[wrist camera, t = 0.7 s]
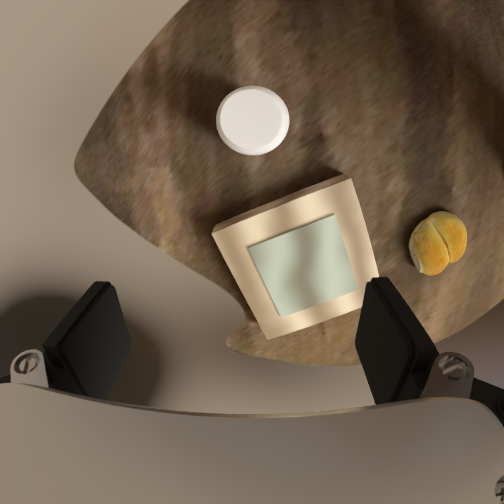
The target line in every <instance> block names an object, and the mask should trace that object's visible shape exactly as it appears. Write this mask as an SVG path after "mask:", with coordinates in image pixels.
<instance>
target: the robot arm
mask: <svg viewBox="0 0 504 504" xmlns="http://www.w3.org/2000/svg"><path fill="white" fill-rule="evenodd" d="M42 346H43V348H44V350H45V352H44V354H42V353H41V352H40V351H37V350H28V351H25V352H22V353H21V354H19V355H18V356H17V357H16V358H15V359H14V360H13V362H12V364H11V374H10V375H8V376H5V377H3V378H0V504H504V389H502V388H499V387H496V386H494V385H491V384H489V383H486V382H484V381H481V380H479V379H476V378H474V368H473V365H472V363H471V362H470V361H469V360H468V359H467V358H466V357H465V356H463V355H461V354H459V353H454V352H445V353H442V354H439V352H438V351H437V349H436V347H435V345H434V343H433V342H432V340H431V339H430V337H429V335H428V334H427V332H426V331H425V329H424V328H423V326H422V325H421V323H420V322H419V320H418V319H417V318H416V316H415V315H414V313H413V312H412V310H411V309H410V307H409V306H408V305H407V303H406V302H405V300H404V299H403V297H402V296H401V295H400V293H399V292H398V291H397V289H396V288H395V286H394V285H393V284H392V282H391V281H390V280H389V278H388V277H373V278H372V279H371V281H370V282H367V283H366V287H365V293H364V298H363V304H362V309H361V314H360V319H359V324H358V329H357V334H356V339H355V346H356V350H357V353H358V355H359V358H360V361H361V364H362V366H363V369H364V372H365V375H366V378H367V381H368V384H369V386H370V389H371V392H372V395H373V398H374V401H375V404H376V405H372V406H364V407H357V408H348V409H339V410H329V411H318V412H305V413H286V414H220V413H219V414H218V413H200V412H186V411H175V410H167V409H158V408H150V407H142V406H135V405H129V404H123V403H117V402H112V401H106V400H107V397H108V395H109V393H110V391H111V389H112V387H113V384H114V382H115V380H116V378H117V376H118V374H119V372H120V370H121V367H122V365H123V363H124V361H125V359H126V357H127V355H128V353H129V351H130V349H131V338H130V335H129V332H128V329H127V326H126V323H125V320H124V317H123V314H122V310H121V307H120V303H119V300H118V296H117V293H116V289H115V287H114V286H113V285H111V283H110V282H102V281H99V282H97V281H96V282H94V283H93V284H92V286H91V287H90V288H89V289H88V290H87V291H86V292H85V294H84V295H83V296H82V297H81V298H80V299H79V301H78V302H77V303H76V304H75V305H74V306H73V307H72V309H71V310H70V311H69V312H68V313H67V315H66V316H65V317H64V318H63V319H62V321H61V322H60V323H59V324H58V326H57V327H56V328H55V329H54V331H53V332H52V333H51V334H50V336H49V337H48V338H47V339H46V341H45V342H44V343H43V345H42Z"/></svg>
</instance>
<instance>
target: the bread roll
mask: <svg viewBox="0 0 504 504" xmlns="http://www.w3.org/2000/svg"><path fill="white" fill-rule="evenodd" d="M466 243H467V233H466V228H465V226H464V224H463V223H462V221H461V220H460V219H459V218H458V217H456V216H455V215H453V214H452V213H449V212H445V211H439V212H435V213H432V214H431V215H429V216H428V217H427V218H426V219H425V220H423V221H421V222H420V223H419V224H418V225H417V226H416V228H415V229H414V230H413V232H412V234H411V237H410V240H409V250H410V254H411V257H412V260H413V262H414V264H415V266H416V268H417V269H418V271H419V272H422V273H424V274H426V275H436V274H439V273H440V272H441V271H442V270H443V269H444V268H445V267H446V265H447V264H448V263H453V262H456V261H457V260H458V259H460V258H461V256H462V255H463V253H464V251H465V248H466Z"/></svg>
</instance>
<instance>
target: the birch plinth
mask: <svg viewBox="0 0 504 504" xmlns="http://www.w3.org/2000/svg"><path fill="white" fill-rule="evenodd" d="M212 236H213V238H214V240H215V242H216V244H217V245H218V247H219V249H220V251H221V253H222V255H223V257H224V259H225V261H226V263H227V265H228V267H229V269H230V271H231V272H232V274H233V276H234V278H235V280H236V282H237V284H238V286H239V288H240V290H241V291H242V293H243V295H244V297H245V299H246V301H247V303H248V305H249V306H250V308H251V310H252V312H253V314H254V316H255V318H256V319H257V321H258V323H259V325H260V327H261V329H262V331H263V332H264V334H265V336H266V338H267V340H269V339H272V338H275V337H278V336H282V335H285V334H288V333H291V332H294V331H297V330H300V329H303V328H306V327H309V326H311V325H314V324H317V323H320V322H323V321H326V320H328V319H331V318H334V317H337V316H339V315H342V314H345V313H347V312H350V311H353V310H355V309H358V308H360V307H362V304H363V298H364V293H365V287H366V283H367V282H370V281H371V279H372V278H373V277H379V275H378V270H377V266H376V262H375V258H374V254H373V250H372V247H371V243H370V239H369V235H368V232H367V228H366V225H365V221H364V218H363V214H362V211H361V208H360V205H359V201H358V198H357V195H356V192H355V189H354V186H353V183H352V180H351V178H350V177H348V176H347V175H345V174H341V175H339V176H336V177H333V178H331V179H328V180H325V181H323V182H320V183H318V184H315V185H312V186H310V187H307V188H305V189H302V190H300V191H297V192H294V193H292V194H289V195H287V196H284V197H282V198H279V199H277V200H274V201H272V202H269V203H267V204H264V205H262V206H259V207H257V208H255V209H252V210H250V211H247V212H245V213H242V214H240V215H238V216H235V217H233V218H230V219H228V220H226V221H223V222H221V223H219V224H216V225H215V227H214V229H213V231H212Z"/></svg>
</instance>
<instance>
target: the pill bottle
mask: <svg viewBox="0 0 504 504" xmlns="http://www.w3.org/2000/svg"><path fill="white" fill-rule="evenodd" d="M216 125H217V130H218V133H219V135H220V137H221V138H222V140H223V141H224V142H225V144H226V145H228V146H229V147H230V148H231V149H233V150H234V151H236V152H239V153H241V154H246V155H260V154H264V153H267V152H269V151H271V150H273V149H274V148H276V147H277V146H278V145H279V144H280V143H281V142H282V141H283V139H284V138H285V136H286V134H287V131H288V128H289V113H288V110H287V107H286V105H285V103H284V102H283V101H282V99H281V98H280V97H279V96H278V95H277V94H275V93H274V92H273V91H271V90H269V89H267V88H264V87H260V86H245V87H241V88H238V89H236V90H234V91H232V92H231V93H230V94H228V95H227V96H226V97H225V98H224V99H223V101H222V102H221V104H220V106H219V108H218V111H217V115H216Z"/></svg>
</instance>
